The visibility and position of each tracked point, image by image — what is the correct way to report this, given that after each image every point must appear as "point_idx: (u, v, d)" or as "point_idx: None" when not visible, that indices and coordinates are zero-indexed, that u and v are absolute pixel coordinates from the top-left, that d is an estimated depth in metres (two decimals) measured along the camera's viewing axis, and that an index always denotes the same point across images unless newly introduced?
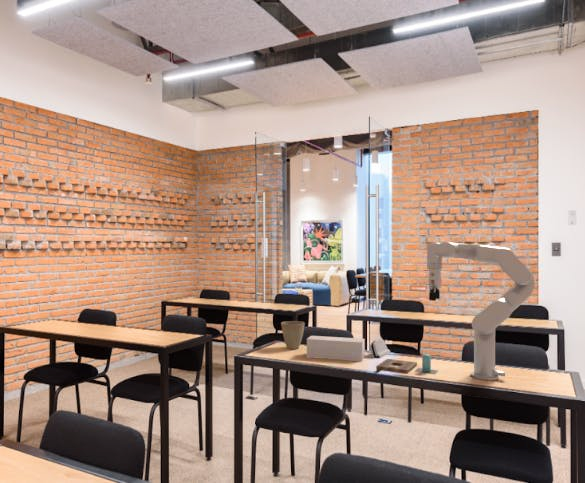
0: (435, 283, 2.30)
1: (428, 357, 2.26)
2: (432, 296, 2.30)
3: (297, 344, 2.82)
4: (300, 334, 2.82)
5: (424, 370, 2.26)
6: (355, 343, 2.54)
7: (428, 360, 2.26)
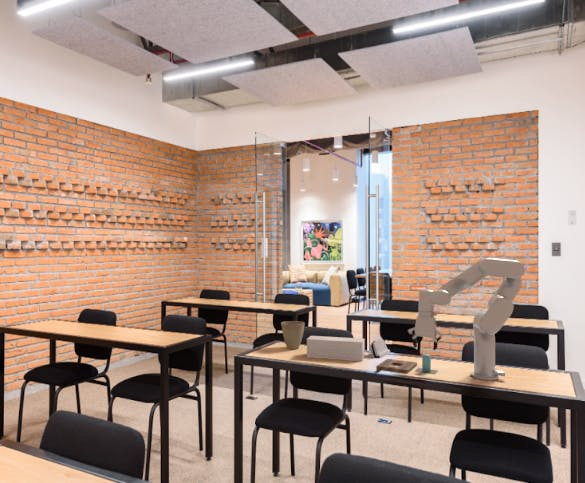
0: None
1: (428, 357, 2.26)
2: None
3: (297, 344, 2.82)
4: (300, 334, 2.82)
5: (424, 370, 2.26)
6: (355, 343, 2.54)
7: (428, 360, 2.26)
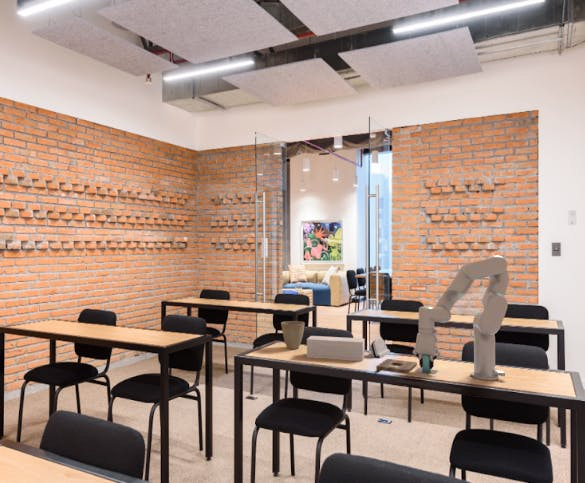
0: None
1: (428, 357, 2.26)
2: (433, 364, 2.26)
3: (297, 344, 2.82)
4: (300, 334, 2.82)
5: (424, 370, 2.26)
6: (355, 343, 2.55)
7: (428, 360, 2.26)
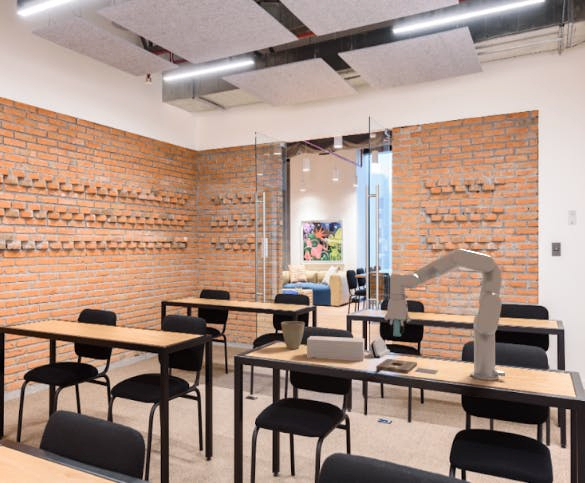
0: None
1: (399, 322, 2.33)
2: (403, 329, 2.34)
3: (297, 344, 2.82)
4: (300, 334, 2.82)
5: (395, 334, 2.34)
6: (356, 343, 2.55)
7: (399, 324, 2.33)
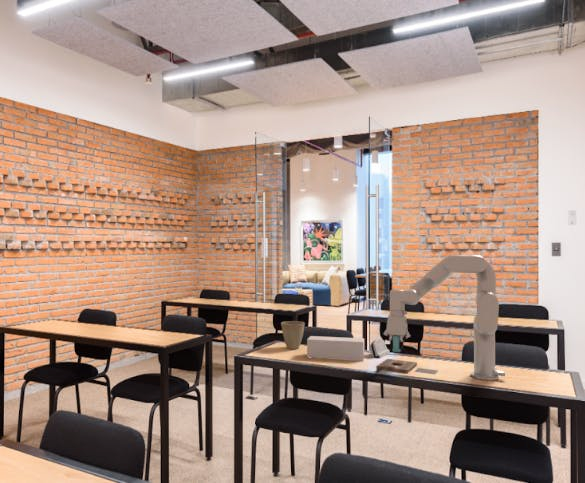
0: None
1: (398, 338, 2.33)
2: None
3: (297, 344, 2.82)
4: (300, 334, 2.82)
5: (394, 350, 2.34)
6: (356, 343, 2.55)
7: (398, 340, 2.33)
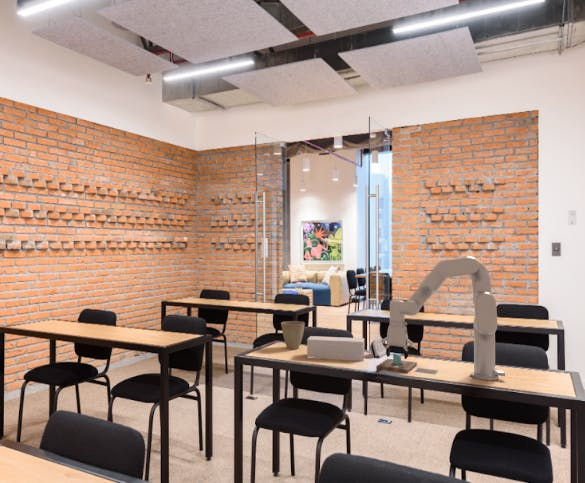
0: None
1: (398, 356, 2.33)
2: (407, 354, 2.32)
3: (297, 344, 2.82)
4: (300, 334, 2.82)
5: None
6: (356, 343, 2.55)
7: (399, 359, 2.33)
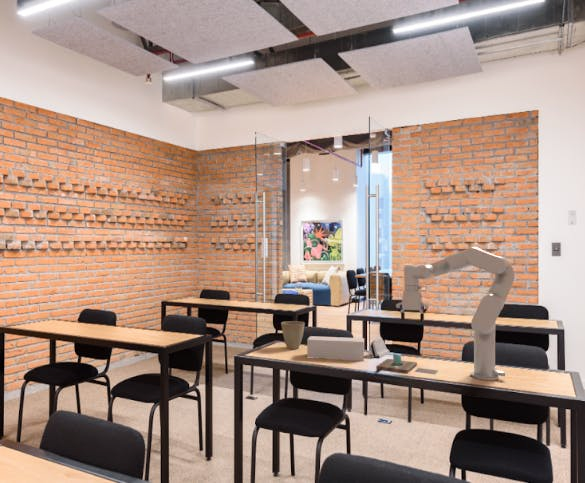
0: None
1: (398, 356, 2.33)
2: (423, 317, 2.39)
3: (297, 344, 2.82)
4: (300, 334, 2.82)
5: None
6: (356, 343, 2.55)
7: (399, 359, 2.33)
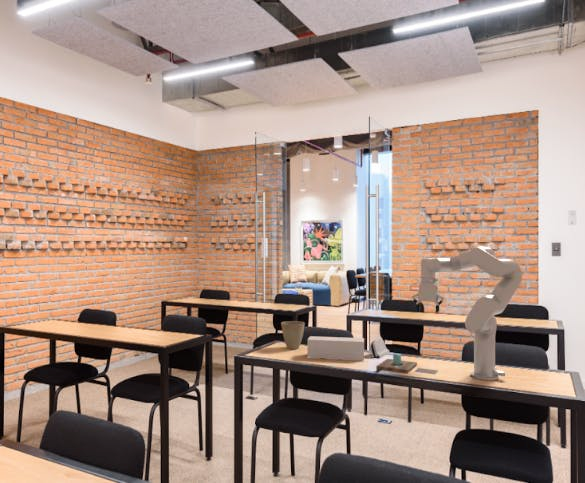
0: None
1: (398, 356, 2.33)
2: (438, 308, 2.46)
3: (297, 344, 2.82)
4: (300, 334, 2.82)
5: None
6: (357, 343, 2.55)
7: (399, 359, 2.33)
